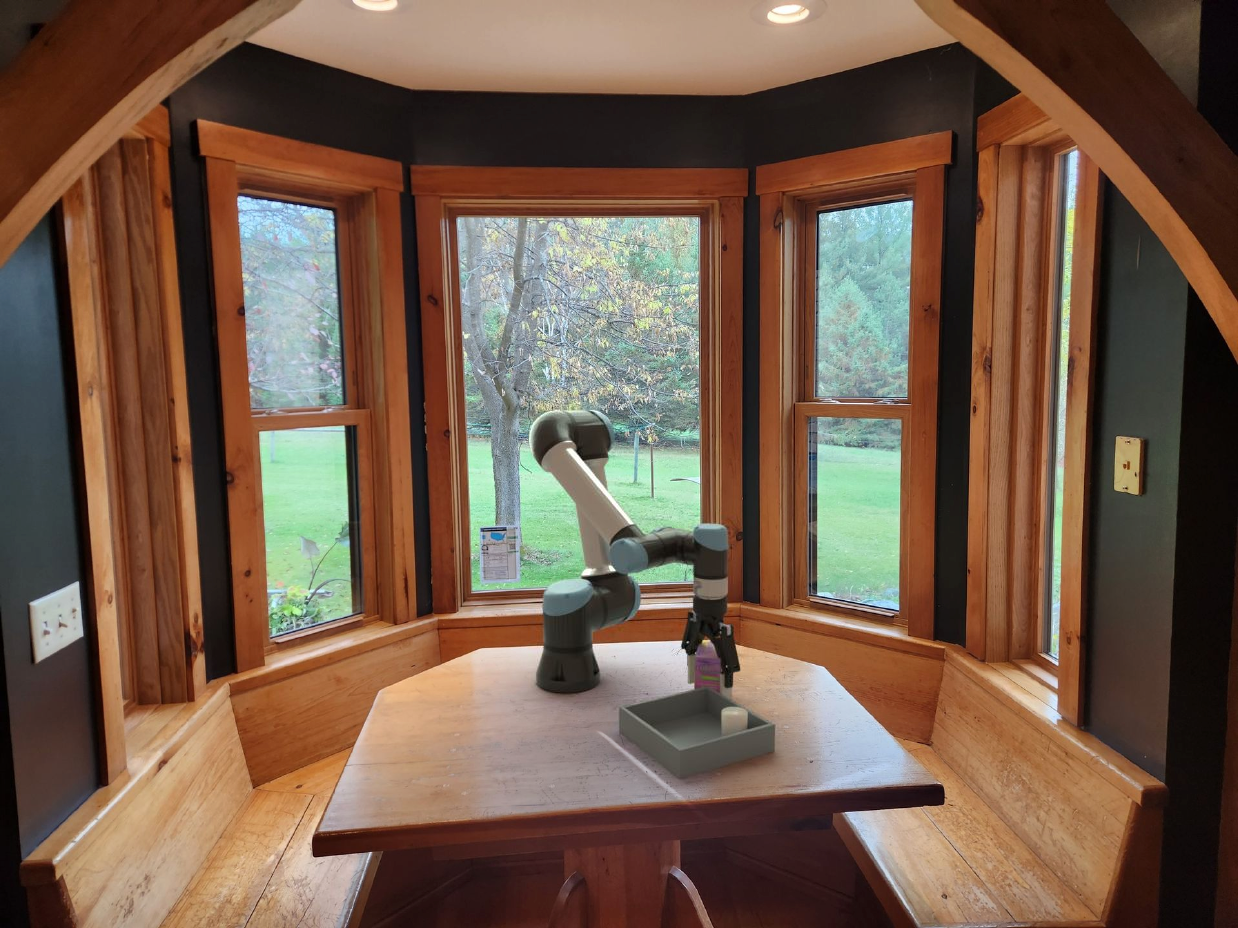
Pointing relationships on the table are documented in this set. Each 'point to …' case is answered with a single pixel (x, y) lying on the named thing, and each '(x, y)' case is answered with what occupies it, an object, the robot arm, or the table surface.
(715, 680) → the box
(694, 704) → the crate
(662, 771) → the table surface
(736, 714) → the cream bullet shape
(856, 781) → the table surface
